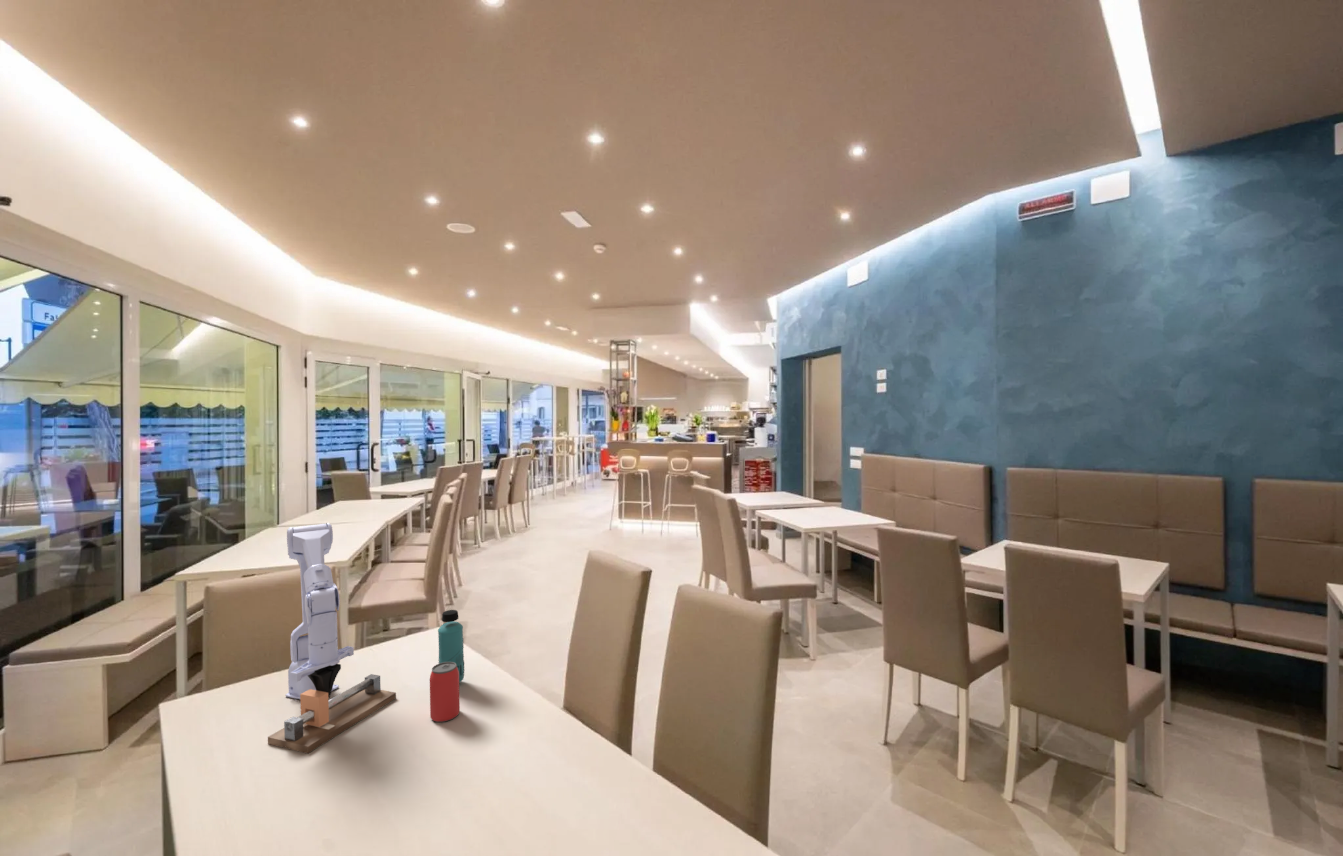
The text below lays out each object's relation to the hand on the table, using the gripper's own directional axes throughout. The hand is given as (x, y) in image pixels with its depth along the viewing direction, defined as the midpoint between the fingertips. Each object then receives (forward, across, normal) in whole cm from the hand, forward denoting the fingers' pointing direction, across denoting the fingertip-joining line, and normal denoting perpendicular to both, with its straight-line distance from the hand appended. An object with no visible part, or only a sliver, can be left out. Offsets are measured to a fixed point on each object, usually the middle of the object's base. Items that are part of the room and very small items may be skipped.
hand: (324, 697), depth 128 cm
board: (+7, +3, 0) cm, 7 cm away
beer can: (+7, +12, -24) cm, 28 cm away
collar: (+4, -2, 0) cm, 5 cm away
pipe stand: (+5, +3, 0) cm, 6 cm away
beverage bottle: (+7, +25, -15) cm, 30 cm away
